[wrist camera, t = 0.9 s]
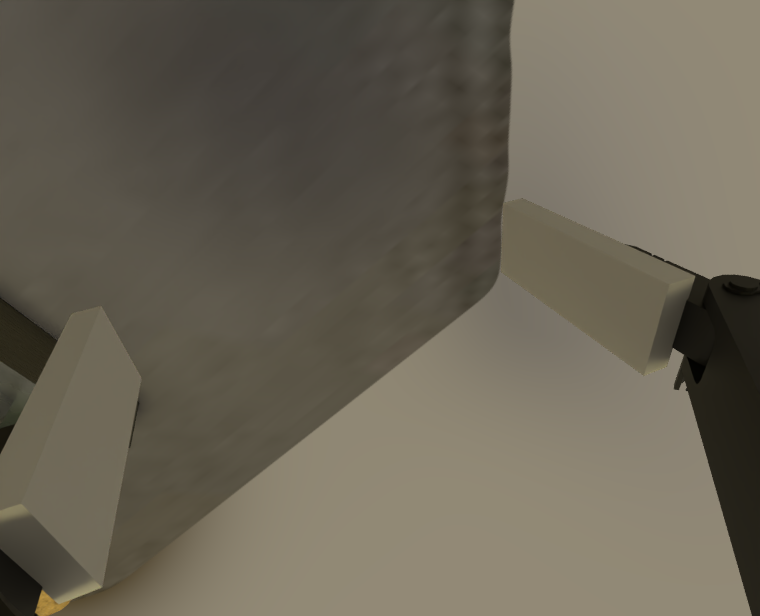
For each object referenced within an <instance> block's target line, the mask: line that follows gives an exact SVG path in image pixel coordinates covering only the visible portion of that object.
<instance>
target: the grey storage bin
mask: <svg viewBox="0 0 760 616" xmlns="http://www.w3.org/2000/svg"><path fill="white" fill-rule="evenodd" d="M56 343H57V340H55V339H54V338H53V337H51V336H50V335H49V334H47V333H46V332H45V331H43V330H42V329H41V328H39V327H38V326H37V325H35V324H34V323H33V322H31V321H30V320H29V319H27V318H26V317H25V316H23V315H22V314H21V313H19V312H18V311H17V310H15V309H14V308H13V307H11V306H10V305H9V304H7V303H6V302H5V301H3V300H2V299H1V298H0V428H3V427H7V426H10V425H13V424H16V422H17V420H18V418H19V416H20V414H21V412H22V411H23V409H24V407H25V405H26V403H27V401H28V399H29V397H30V395H31V393H32V391H33V389H34V387H35V385H36V383H37V381H38V379H39V377H40V375H41V373H42V371H43V369H44V367H45V365H46V363H47V361H48V359H49V357H50V355H51V353H52V351H53V349H54V347H55V345H56ZM138 405H139V402H138V401H137V405H136V411H135V416H134V421H133V427H132V432H131V437H130V442H129V448H130V446H131V441H132V436H133V431H134V426H135V421H136V416H137V410H138Z"/></svg>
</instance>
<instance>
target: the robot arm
mask: <svg viewBox="0 0 760 616" xmlns="http://www.w3.org/2000/svg"><path fill="white" fill-rule="evenodd" d="M501 272H502V273H503V274H504V275H506V276H507V277H509V278H510V279H511V280H513V281H514V282H515V283H517V284H518V285H520V286H521V287H522V288H524V289H525V290H526V291H528V292H529V293H531V294H532V295H533V296H535V297H536V298H538V299H539V300H540V301H542V302H543V303H544V304H546V305H547V306H548V307H550V308H551V309H553V310H554V311H555V312H557V313H558V314H559V315H561V316H562V317H564V318H565V319H566V320H568V321H569V322H570V323H572V324H573V325H575V326H576V327H577V328H579V329H580V330H581V331H583V332H584V333H586V334H587V335H588V336H590V337H591V338H592V339H594V340H595V341H597V342H598V343H599V344H601V345H602V346H603V347H605V348H606V349H608V350H609V351H610V352H612V353H613V354H614V355H616V356H617V357H619V358H620V359H621V360H623V361H624V362H626V363H627V364H628V365H630V366H631V367H633V368H634V369H635V370H637V371H638V372H639V373H641V374H642V375H643V376H645V375H647V374H649V373H652V372H655V371H657V370H660V369H662V368H665V367H667V364H668V361H669V358H670V355H671V352H672V349H673V348H674V349H676V350H677V351H679V352H681V353H682V354H684V357H683V360H682V363H681V366H680V369H679V372H678V374H677V377H676V380H675V384H674V389H675V390H679V388H680V385H681V383H683V382H684V381H685V383H686V386H687V388H686V391H688V393H689V396H690V400H691V404H692V407H693V410H694V414H695V418H696V421H697V424H698V428H699V431H700V435H701V438H702V442H703V446H704V449H705V452H706V456H707V459H708V463H709V467H710V470H711V474H712V477H713V481H714V484H715V487H716V491H717V494H718V498H719V501H720V505H721V509H722V512H723V516H724V519H725V523H726V526H727V530H728V533H729V537H730V540H731V543H732V547H733V551H734V554H735V557H736V561H737V565H738V568H739V572H740V575H741V579H742V582H743V586H744V589H745V593H746V596H747V600H748V603H749V606H750V610H751V614H752V616H760V280H759V279H754V278H751V277H747V276H741V275H721V276H717V277H713V278H712V279H711V280H710V279H707V278H705V277H703V276H701V275H699V274H696V273H694V272H692V271H690V270H687V269H685V268H683V267H680V266H678V265H676V264H673V263H671V262H669V261H664V259H662V258H660V257H658V256H656V255H653V256H652V254H651V253H649V252H647V251H644V250H642V249H640V248H638V247H635V246H631V245H626V244H623V243H620V242H619V241H616V240H614V239H612V238H610V237H607V236H605V235H603V234H601V233H598V232H596V231H594V230H591V229H589V228H587V227H585V226H583V225H580V224H578V223H576V222H574V221H572V220H570V219H567V218H565V217H563V216H561V215H558V214H556V213H554V212H552V211H549V210H547V209H545V208H543V207H541V206H538V205H536V204H534V203H532V202H529V201H527V200H525V199H523V198H521V199H517V200H513V201H509V202H505V203H503V226H502V254H501ZM141 379H142V378H141V376H140V374H139V373H138V371H137V369H136V367H135V366H134V364H133V362H132V360H131V358H130V357H129V355H128V353H127V351H126V349H125V348H124V346H123V344H122V342H121V340H120V339H119V337H118V335H117V333H116V332H115V330H114V328H113V326H112V324H111V323H110V321H109V319H108V317H107V315H106V314H105V312H104V310H103V308H102V307H101V306H99V307H95V308H91V309H87V310H83V311H79V312H75V313H72V314H71V316H70V318H69V320H68V322H67V324H66V326H65V328H64V330H63V332H62V334H61V336H60V337H59V339H58V341H57V343H56V345H55V347H54V349H53V351H52V353H51V355H50V357H49V359H48V361H47V363H46V365H45V367H44V369H43V371H42V373H41V375H40V377H39V379H38V381H37V383H36V385H35V387H34V389H33V391H32V393H31V395H30V397H29V399H28V401H27V403H26V405H25V407H24V409H23V411H22V412H21V414H20V416H19V418H18V420H17V422H16V424H13V425H10V426H7V427H3V428H0V616H39V615H38V614H36V613H35V611H36V608H37V605H38V601H39V598H40V595H41V591H42V590H43V591H44V592H45V593H46V594H47V595H49V596H50V597H51V598H52V599H53V600H54V601H55V602H56V603H58V604H61V603H63V602H66V601H69V600H71V599H74V598H76V597H79V596H81V595H84V594H87V593H89V592H92V591H94V590H97V589H99V588H102V586H103V580H104V575H105V570H106V564H107V559H108V554H109V548H110V543H111V538H112V533H113V527H114V522H115V517H116V511H117V506H118V501H119V495H120V490H121V485H122V480H123V474H124V469H125V464H126V458H127V453H128V448H129V442H130V437H131V432H132V427H133V421H134V416H135V411H136V405H137V400H138V395H139V389H140V384H141Z"/></svg>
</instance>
